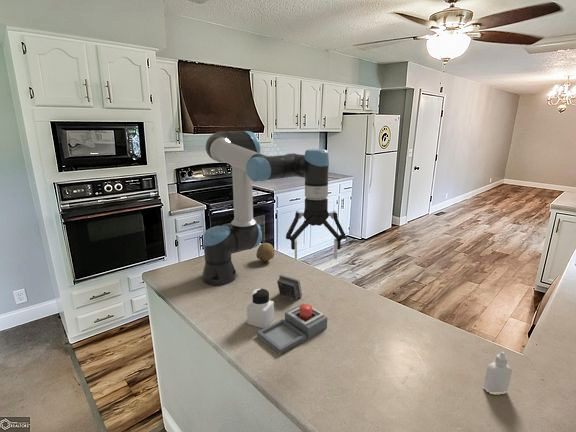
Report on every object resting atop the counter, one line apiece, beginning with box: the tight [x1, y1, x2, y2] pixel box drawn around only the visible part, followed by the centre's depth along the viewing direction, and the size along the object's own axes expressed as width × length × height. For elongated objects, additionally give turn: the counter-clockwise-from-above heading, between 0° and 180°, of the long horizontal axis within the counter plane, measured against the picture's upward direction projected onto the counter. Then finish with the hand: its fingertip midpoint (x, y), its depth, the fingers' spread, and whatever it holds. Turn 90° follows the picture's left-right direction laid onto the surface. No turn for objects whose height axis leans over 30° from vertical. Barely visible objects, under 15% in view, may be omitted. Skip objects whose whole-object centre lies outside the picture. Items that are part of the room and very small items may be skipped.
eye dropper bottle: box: [483, 351, 513, 392], centre depth 85 cm, size 4×6×12 cm
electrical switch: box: [276, 273, 303, 301], centre depth 132 cm, size 9×5×9 cm, turn 57°
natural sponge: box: [255, 242, 276, 263], centre depth 165 cm, size 9×9×10 cm
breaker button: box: [299, 303, 313, 321], centre depth 113 cm, size 4×4×4 cm
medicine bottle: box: [246, 288, 275, 329], centre depth 115 cm, size 7×7×12 cm
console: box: [256, 303, 328, 356], centre depth 110 cm, size 12×21×5 cm, turn 131°
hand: (315, 258), depth 112 cm, fingers open, 13 cm apart
